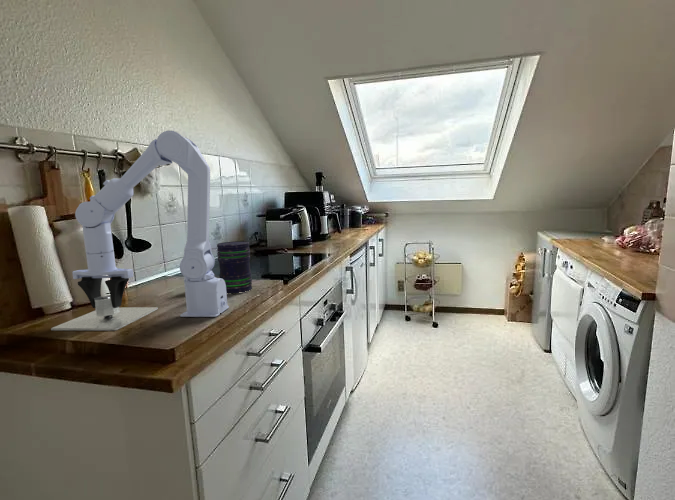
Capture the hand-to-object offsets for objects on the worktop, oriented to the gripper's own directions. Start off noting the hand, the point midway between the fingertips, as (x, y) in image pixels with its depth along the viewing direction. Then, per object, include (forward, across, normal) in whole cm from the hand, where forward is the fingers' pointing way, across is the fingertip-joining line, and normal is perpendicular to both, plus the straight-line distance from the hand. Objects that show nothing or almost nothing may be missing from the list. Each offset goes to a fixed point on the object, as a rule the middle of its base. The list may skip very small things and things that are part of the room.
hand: (107, 306), depth 91 cm
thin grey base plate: (+3, 0, 0) cm, 3 cm away
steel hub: (+2, 0, 0) cm, 2 cm away
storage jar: (+3, -22, -28) cm, 36 cm away
